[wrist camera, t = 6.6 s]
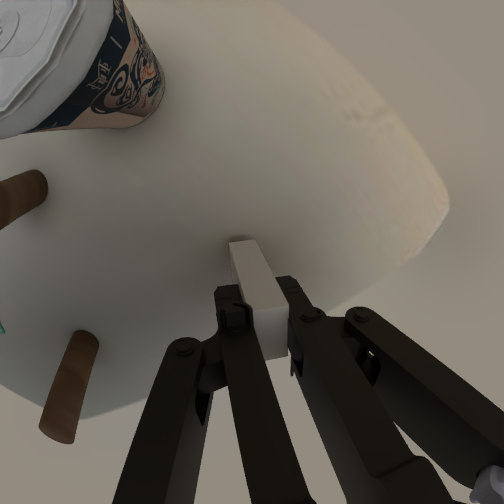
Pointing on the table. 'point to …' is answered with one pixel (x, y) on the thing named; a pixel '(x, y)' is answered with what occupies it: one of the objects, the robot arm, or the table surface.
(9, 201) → the post
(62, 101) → the beer can
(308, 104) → the table surface
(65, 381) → the post
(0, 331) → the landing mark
